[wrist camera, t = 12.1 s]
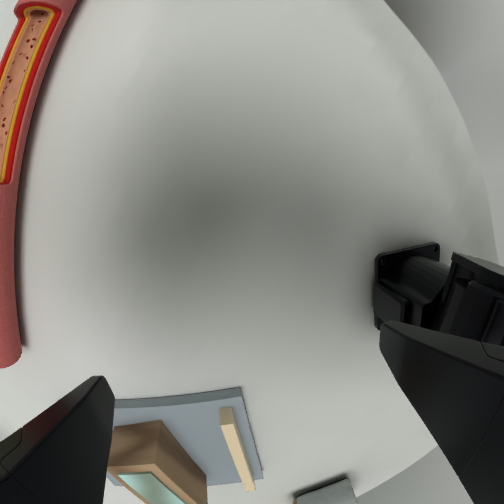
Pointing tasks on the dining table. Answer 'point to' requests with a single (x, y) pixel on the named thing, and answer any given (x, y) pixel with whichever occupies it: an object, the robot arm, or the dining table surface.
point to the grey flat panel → (202, 432)
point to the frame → (155, 465)
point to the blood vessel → (20, 136)
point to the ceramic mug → (330, 495)
